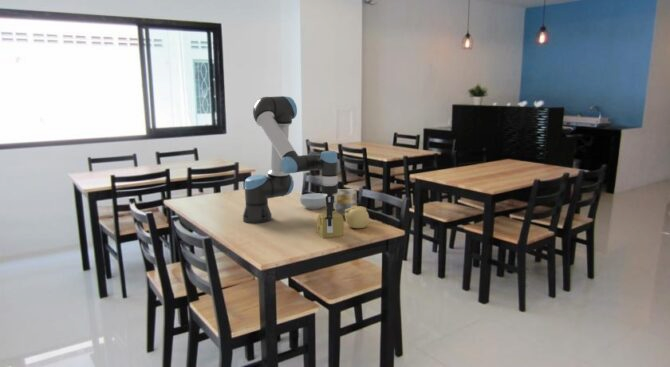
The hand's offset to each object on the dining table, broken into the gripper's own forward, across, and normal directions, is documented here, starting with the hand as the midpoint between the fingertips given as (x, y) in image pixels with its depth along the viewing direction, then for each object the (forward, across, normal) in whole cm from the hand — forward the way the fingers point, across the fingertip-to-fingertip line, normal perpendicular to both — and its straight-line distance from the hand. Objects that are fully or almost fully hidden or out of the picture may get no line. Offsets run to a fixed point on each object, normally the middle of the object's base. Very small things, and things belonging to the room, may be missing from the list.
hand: (330, 228), depth 220 cm
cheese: (+3, 0, 0) cm, 3 cm away
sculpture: (+3, +12, -13) cm, 18 cm away
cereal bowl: (+3, +52, +12) cm, 53 cm away
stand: (+3, +28, -6) cm, 29 cm away
